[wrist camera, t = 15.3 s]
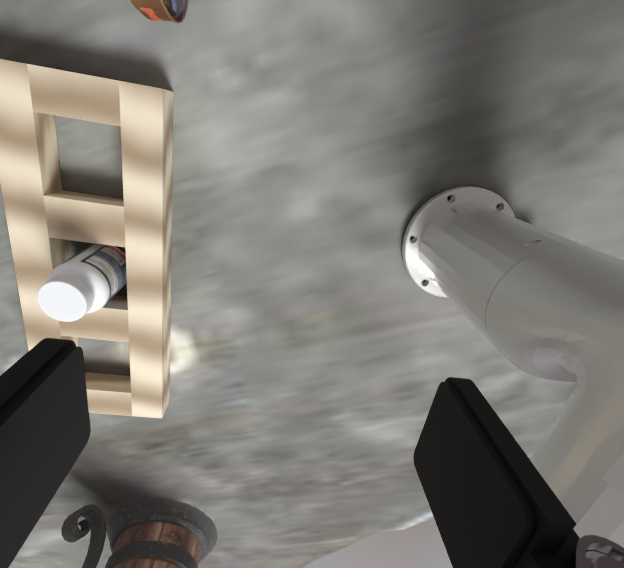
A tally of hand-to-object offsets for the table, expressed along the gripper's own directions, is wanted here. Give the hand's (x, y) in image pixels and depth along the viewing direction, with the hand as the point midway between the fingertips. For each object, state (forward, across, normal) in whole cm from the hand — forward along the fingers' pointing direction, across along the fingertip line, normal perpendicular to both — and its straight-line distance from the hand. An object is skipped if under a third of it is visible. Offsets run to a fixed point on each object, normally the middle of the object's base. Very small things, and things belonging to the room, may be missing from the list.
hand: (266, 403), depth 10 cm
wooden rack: (+30, +18, +10) cm, 37 cm away
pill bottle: (+31, +18, +10) cm, 37 cm away
